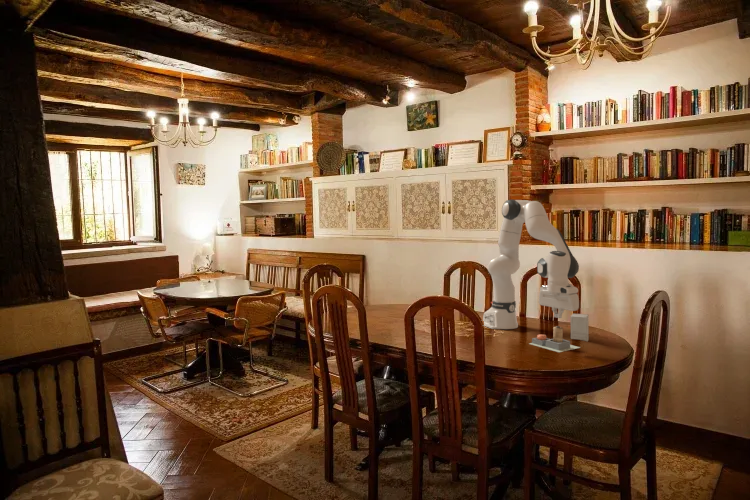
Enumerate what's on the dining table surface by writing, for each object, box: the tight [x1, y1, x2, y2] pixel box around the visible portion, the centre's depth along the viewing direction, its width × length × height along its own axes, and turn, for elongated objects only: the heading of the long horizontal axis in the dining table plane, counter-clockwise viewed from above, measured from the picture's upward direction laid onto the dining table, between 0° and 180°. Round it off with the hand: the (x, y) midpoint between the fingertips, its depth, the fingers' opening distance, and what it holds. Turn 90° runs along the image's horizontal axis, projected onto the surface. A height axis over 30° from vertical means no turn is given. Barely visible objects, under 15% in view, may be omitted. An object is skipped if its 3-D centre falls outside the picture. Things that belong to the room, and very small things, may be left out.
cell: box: [552, 325, 564, 343], centre depth 237 cm, size 4×4×10 cm
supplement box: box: [570, 313, 590, 342], centre depth 253 cm, size 7×7×13 cm
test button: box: [536, 334, 547, 341], centre depth 244 cm, size 4×4×2 cm
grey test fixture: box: [528, 337, 581, 353], centre depth 240 cm, size 18×14×4 cm
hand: (557, 317), depth 236 cm, fingers closed
